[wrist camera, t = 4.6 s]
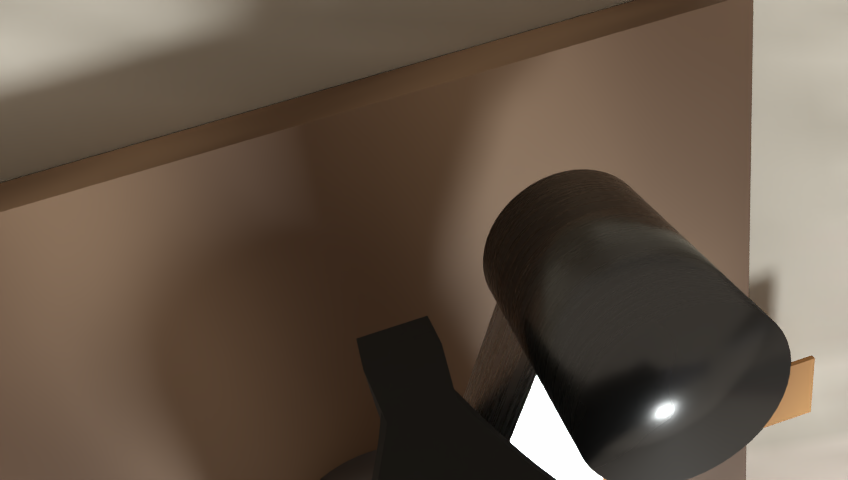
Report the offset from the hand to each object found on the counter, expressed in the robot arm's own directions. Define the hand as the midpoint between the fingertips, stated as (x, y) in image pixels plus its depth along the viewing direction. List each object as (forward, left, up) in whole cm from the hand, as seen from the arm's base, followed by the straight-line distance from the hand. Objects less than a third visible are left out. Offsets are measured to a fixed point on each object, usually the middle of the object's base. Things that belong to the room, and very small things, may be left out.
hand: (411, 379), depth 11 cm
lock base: (-1, -6, -4) cm, 7 cm away
